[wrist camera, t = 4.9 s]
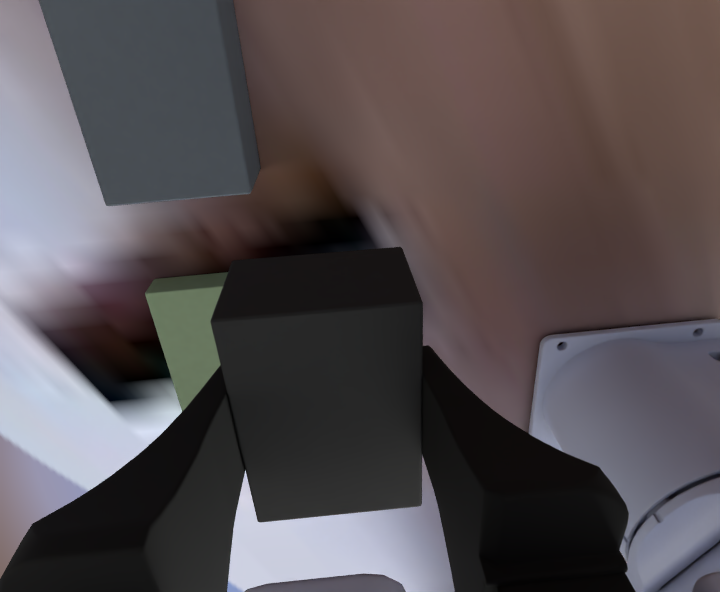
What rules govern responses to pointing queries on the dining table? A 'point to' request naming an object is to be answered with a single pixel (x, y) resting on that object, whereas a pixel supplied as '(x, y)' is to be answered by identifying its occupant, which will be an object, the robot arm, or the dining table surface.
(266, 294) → the black rectangular block
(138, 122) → the grey block
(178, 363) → the base pad
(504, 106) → the dining table surface
